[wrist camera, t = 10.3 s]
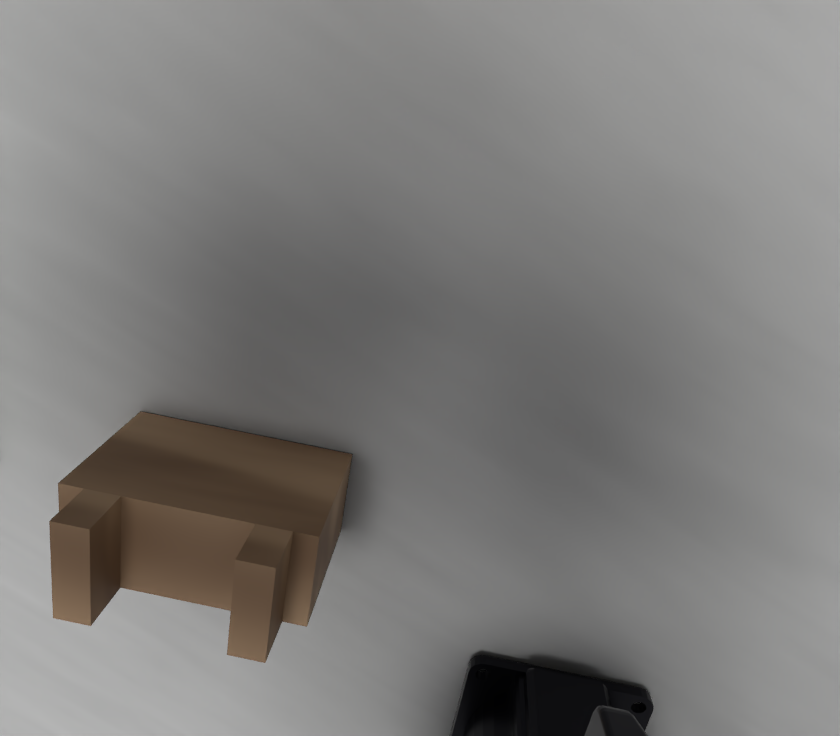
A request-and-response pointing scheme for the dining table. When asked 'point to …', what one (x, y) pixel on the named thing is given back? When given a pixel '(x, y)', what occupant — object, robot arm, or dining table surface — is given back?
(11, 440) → the dining table surface
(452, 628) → the dining table surface
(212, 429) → the post
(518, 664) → the robot arm
